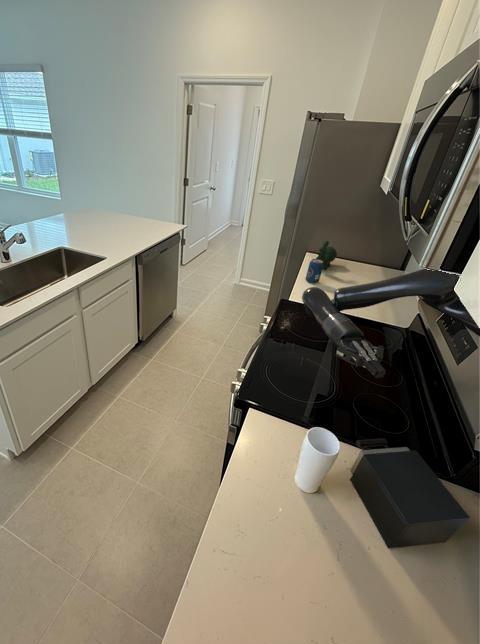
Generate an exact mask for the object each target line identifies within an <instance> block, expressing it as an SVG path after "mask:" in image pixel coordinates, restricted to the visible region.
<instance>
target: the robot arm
mask: <svg viewBox="0 0 480 644" xmlns="http://www.w3.org/2000/svg"><path fill="white" fill-rule="evenodd" d="M459 276H460V274H459V275H456V274H449V273H446V272H442V271H432V270H427V269H425V268H422V269H419V270H415V271H412V272H408V273H406V274H402V275H398V276H394V277H391V278H387V279H383V280H378V281H373V282H367V283H363V284H362V283H361V284H356V285H350V286H344V287H338V288H336V289H335V290H334V291H333V298H332V299H330V297H329V296H328V294H327V293H326V292H325V290H323V289H322V288H321V287H317V286H311V287H308V288H306V289H304V291H303V292H302V295H301V300H302V303H303V306H304V309H305V312H306V314H307V315H308V316H309V317H310V318H313V319H315V320H316V323H317V324H318V325H319V327H320V328H321V329H322V330H323V331H324V333H325V335H326V336H327V338H328V339H329V340H330V341H331V343H332V344H333V345H334V346H335V348H337V349H336V353H335V357H336V358H339V359H341V360H342V361H345V362H347V363H349V364H351V365H353V366H355V367H360V366H361V367H362V368H364V369H366V370H367V371H368V372H369V373H370V374H371V375H372V376H373V377H375V378H376V379H382V378H384V376H385V374H386V371H387V370H386V369H385V368H384V366H382V364H381V362H382V360H383V359H384V351H385V347H384V346H383V345H378V347H377V346H374V345H373V344H372V343H371V341H368V340H367V339H366V337H365V335H364V332H363V331H362V330H361V329H360V328H359V327H358V326H357V325H356V324H355V323H354V322H353V321H352V320H351V319H350V318H348V317H347V316H346V315H344V314H343V311H348V310H356V309H364V308H367V307H372V306H375V305H380V304H381V303H385V302H388V301H391V300H395V299H401V298H406V297H417V298H418V299H419V300H420V301H421V302H422V303H423V304H425V305H427V306H429V307H431V308H432V309H434V310H436V311H438V312H440V313H442V314H444V315H446V316H448V317H449V318H451V319H453V320H455V321H457V322H458V323H459V324H461V325H463V326H464V327H466V328H467V329H468V330H470V332H472V333H473V334H475V335H476V336H478V337H479V338H480V328H478V326H477V325H476V323H475V322H474V320H473V319H472V317H471V316H470V315H469V313H468V312H467V310H466V309H465V307H464V306H463V305H462V303H461V302H460V300H459V298H458V297H457V295H456V294H455V292H454V286H455V285H456V283H457V281H458V279H459Z"/></svg>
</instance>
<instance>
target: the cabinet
mask: <svg viewBox="0 0 480 644" xmlns="http://www.w3.org/2000/svg"><path fill="white" fill-rule="evenodd" d="M349 480H350V482H351V484H352V486H353V488H354V490H355V491H356V493H357V495H358V497H359V498H360V501H361V502H362V504H363V507H364V508H365V509H366V511H367V514H368V515H369V517H370V519H371V520H372V522H373V524H374V526H375V528H376V530H377V531H378V533H379V535H380V537H381V539H382V540H383V542H384V544H385V546H386V547H387V550H389V549H398V548H407V547H417V546H425V545H434V544H443V543H447V542H448V541H449V540H450V538H451V537H452V536H453V535H454V534H456V532H457V531H458V530H459V529H460V528H461V527H462V526H463V525H464V524H465V523H466V522H467V521H468V520H469V519H470V516H469V515H468V513H467V512H466V511H465V509H464V508H463V507H462V506H461V504H460V502H458V501H457V499H456V498H455V497H454V495H452V493H451V492H450V491H449V489H447V487H446V486H445V485H444V484H443V482H442V481H441V480H440V479H439V477H438V476H437V474H435V472H434V471H433V470H432V469H431V467H430V466H429V464H427V461H425V460H424V459H423V458H422V456H421V455H420V453H419V452H418V451H417V450H415V449H414V450H410V451H401V452H388V453H374V454H363V457H362V458H361V460H360V462H359V464H358V466H357V467H356V469H355V471H354V473H353V475H352V474H351V477H350V478H349Z"/></svg>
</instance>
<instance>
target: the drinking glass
mask: <svg viewBox="0 0 480 644" xmlns="http://www.w3.org/2000/svg"><path fill="white" fill-rule="evenodd" d="M340 451H341V443H340V441H339V439H338V437H337V436H336V435H335V434H334V433H333V432H332V431H330V430H328V429H326V428H324V427H319V426H316V427H315V426H314V427H311V428H310V429H308V430H307V432H306V434H305V436H304V439H303V441H302V444H301V448H300V453H299V456H298V457H299V458H298V461H297V466H296V471H295V473H294V481H295V484H296V486H297V487H298V489H300V491H303V492H304V493H307V494H313V493H315V492H317V491H318V490H319V488H320V486H321V484H322V482H323V481H324V479H325V478H326V476H327V475H328V473H329V472H330V471H331V469H332V468H333V466H334V464H335V462H336V461H337V458H338V456H339V454H340Z"/></svg>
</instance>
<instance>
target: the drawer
mask: <svg viewBox="0 0 480 644" xmlns="http://www.w3.org/2000/svg"><path fill="white" fill-rule="evenodd" d="M355 445H356V447H358V448H360V451H359V453H358V455H357V457H356V458H355V461H354V462H353V465H352V466H351V468H350V470H349V471H350V474H351V476H352V475H353V473H354V471H355V469H356V467H357V466H358V464H359V462H360V460H361V458H362V457H363V454H374V453H388V452H401V451H411V450H410V448H409V447H408V446H401V447H390V446H389V445H388V440H387V439H386V438H380V437H379V438H367V439H356V441H355ZM368 447H371V448H372V447H373V448H374V447H384V448H374V449H366V448H368Z"/></svg>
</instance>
